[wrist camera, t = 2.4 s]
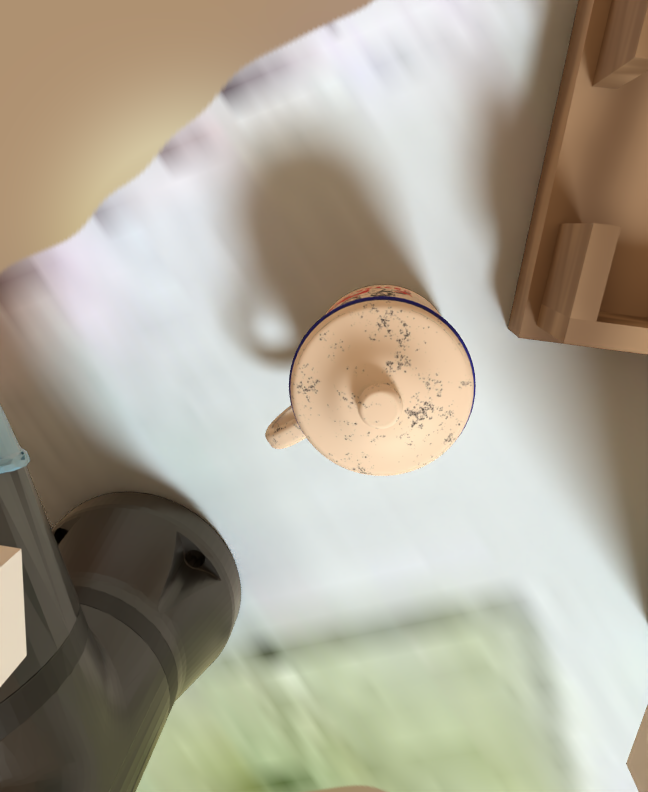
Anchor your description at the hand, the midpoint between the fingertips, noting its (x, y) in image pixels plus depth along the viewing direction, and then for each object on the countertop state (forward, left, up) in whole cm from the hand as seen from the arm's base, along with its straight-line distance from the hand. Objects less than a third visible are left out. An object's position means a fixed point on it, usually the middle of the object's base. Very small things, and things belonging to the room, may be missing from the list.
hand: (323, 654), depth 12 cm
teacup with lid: (0, 0, -26) cm, 26 cm away
